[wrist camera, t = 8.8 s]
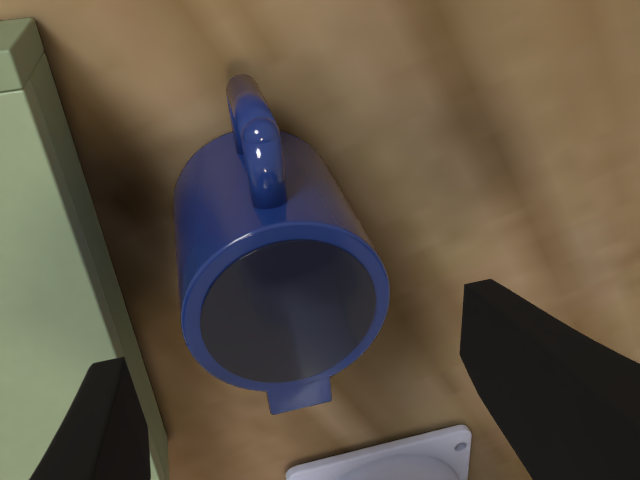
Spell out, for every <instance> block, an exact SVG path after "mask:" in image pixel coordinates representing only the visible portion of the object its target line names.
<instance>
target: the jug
mask: <svg viewBox="0 0 640 480" xmlns="http://www.w3.org/2000/svg"><path fill="white" fill-rule="evenodd" d="M226 93H227V99H228V106H229V112H230V118H231V124H232V130H233V132H231V133H228V134H225V135H222V136H220V137H218V138H216V139H214V140H213V141H211V142H210V143H208V144H207V145H205V146H204V147H202V148H201V149H200V150H199V151H198V152H197V153H195V154H194V156H193V157H192V158H191V159H190V160H189V161H188V162H187V164H186V166H185V167H184V169H183V170H182V172H181V174H180V176H179V178H178V180H177V183H176V187H175V190H174V196H173V218H174V232H175V247H176V261H177V276H178V290H179V305H180V320H181V328H182V334H183V337H184V340H185V343H186V346H187V347H188V349H189V351H190V353H191V354H192V356H193V357H194V358H195V360H196V361H197V362H198V363H199V364H200V365H201V366H202V367H203V368H204V369H205V370H206V371H207V372H208V373H210V374H211V375H213V376H214V377H216V378H217V379H219V380H221V381H223V382H225V383H227V384H230V385H233V386H236V387H239V388H243V389H248V390H254V391H266V394H267V400H268V404H269V409H270V413H271V414H272V415H275V414H279V413H283V412H287V411H292V410H296V409H300V408H304V407H309V406H313V405H317V404H321V403H326V402H330V401H331V400H332V394H331V382H330V377H331V376H333V375H335V374H337V373H338V372H340V371H342V370H343V369H345V368H346V367H348V366H349V365H350V364H352V363H353V362H354V361H355V360H356V359H358V358H359V357H360V356H361V355H362V354H363V353H364V352H365V351H366V350H367V348H368V347H369V346H370V345H371V344H372V342H373V341H374V340H375V338H376V337H377V335H378V333H379V332H380V330H381V328H382V326H383V324H384V321H385V318H386V316H387V312H388V307H389V301H390V284H389V278H388V274H387V271H386V268H385V266H384V264H383V262H382V260H381V258H380V256H379V255H378V253H377V251H376V249H375V248H374V246H373V244H372V243H371V241H370V239H369V237H368V236H367V234H366V232H365V231H364V229H363V227H362V225H361V224H360V222H359V220H358V218H357V217H356V215H355V213H354V212H353V210H352V208H351V206H350V205H349V203H348V201H347V200H346V198H345V196H344V194H343V193H342V191H341V189H340V188H339V186H338V184H337V182H336V181H335V179H334V177H333V176H332V174H331V172H330V170H329V169H328V167H327V165H326V164H325V162H324V161H323V159H322V158H321V156H320V155H319V154H318V153H317V152H316V151H315V149H313V148H312V147H311V146H310V145H309V144H307V143H306V142H305V141H303V140H301V139H300V138H298V137H296V136H294V135H291V134H289V133H286V132H283V131H280V130H279V127H278V125H277V123H276V121H275V119H274V117H273V115H272V113H271V111H270V109H269V107H268V105H267V103H266V101H265V98H264V96H263V94H262V92H261V90H260V88H259V86H258V84H257V82H256V81H255V80H254V79H253V78H252V77H250V76H248V75H245V74H240V75H236V76H234V77H233V78H232V79H231V80H230V81H229V82H228V85H227V89H226Z"/></svg>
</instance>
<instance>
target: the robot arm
mask: <svg viewBox="0 0 640 480" xmlns="http://www.w3.org/2000/svg"><path fill="white" fill-rule="evenodd" d="M460 356H461V359H462V361H463V363H464V365H465V367H466V370H467V372H468V374H469V376H470V378H471V380H472V382H473V384H474V386H475V388H476V390H477V393H478V395H479V396H480V398H481V399H482V401H483V403H484V404H485V406H486V407H487V409H488V411H489V412H490V414H491V415H492V417H493V418H494V420H495V422H496V423H497V425H498V426H499V428H500V429H501V431H502V432H503V434H504V436H505V437H506V439H507V440H508V442H509V443H510V445H511V446H512V448H513V449H514V451H515V453H516V454H517V456H518V457H519V459H520V460H521V462H522V463H523V465H524V466H525V468H526V470H527V471H528V473H529V474H530V476H531V477H532V479H533V480H640V364H639V363H637V362H635V361H633V360H631V359H629V358H627V357H625V356H623V355H621V354H619V353H617V352H615V351H613V350H611V349H609V348H607V347H605V346H604V345H602V344H600V343H598V342H596V341H594V340H592V339H591V338H589V337H587V336H585V335H583V334H582V333H580V332H578V331H576V330H575V329H573V328H571V327H569V326H568V325H566V324H564V323H563V322H561V321H559V320H558V319H556V318H554V317H553V316H551V315H549V314H548V313H546V312H544V311H543V310H541V309H539V308H538V307H536V306H535V305H533V304H531V303H530V302H528V301H527V300H525V299H523V298H522V297H520V296H518V295H517V294H515V293H514V292H512V291H510V290H509V289H507V288H506V287H504V286H502V285H501V284H499V283H497V282H495V281H494V280H492V279H488V280H483V281H478V282H474V283H469V284H464V299H463V314H462V328H461V343H460ZM471 438H472V434H471V432H470V430H469V428H468V427H467V426H466V425H456V426H452V427H448V428H444V429H440V430H436V431H432V432H428V433H424V434H420V435H416V436H412V437H408V438H404V439H400V440H396V441H392V442H388V443H384V444H380V445H376V446H372V447H368V448H364V449H360V450H356V451H352V452H348V453H344V454H340V455H336V456H332V457H328V458H324V459H320V460H316V461H312V462H308V463H304V464H300V465H296V466H294V467H292V468H290V469H289V470H288V471H287V473H286V480H468V469H469V459H470V449H471ZM29 480H151V468H150V450H149V435H148V425H147V422H146V419H145V416H144V413H143V411H142V408H141V405H140V402H139V399H138V396H137V393H136V390H135V387H134V384H133V381H132V378H131V375H130V372H129V369H128V366H127V363H126V360H125V357H120V358H115V359H110V360H106V361H101V362H96V363H92V365H91V366H90V367H89V369H88V371H87V373H86V375H85V377H84V379H83V381H82V383H81V385H80V388H79V390H78V392H77V394H76V396H75V398H74V400H73V402H72V404H71V406H70V408H69V410H68V412H67V414H66V416H65V417H64V419H63V421H62V423H61V425H60V427H59V429H58V430H57V432H56V434H55V436H54V438H53V440H52V441H51V443H50V445H49V447H48V449H47V450H46V452H45V454H44V456H43V457H42V459H41V461H40V463H39V464H38V466H37V467H36V469H35V471H34V472H33V474H32V475H31V477H30V479H29Z"/></svg>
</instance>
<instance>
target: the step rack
mask: <svg viewBox="0 0 640 480" xmlns="http://www.w3.org/2000/svg"><path fill="white" fill-rule="evenodd" d="M43 51H44V48H43V44H42V41H41V38H40V35H39V32H38V29H37V26H36V22H35V20H34V18H32V17H30V18H22V19H14V20H6V21H0V480H29V479H30V477H31V475H32V474H33V472H34V471H35V469H36V467H37V466H38V464H39V463H40V461H41V459H42V457H43V456H44V454H45V452H46V450H47V449H48V447H49V445H50V443H51V441H52V440H53V438H54V436H55V434H56V432H57V430H58V429H59V427H60V425H61V423H62V421H63V419H64V417H65V416H66V414H67V412H68V410H69V408H70V406H71V404H72V402H73V400H74V398H75V396H76V394H77V392H78V390H79V388H80V385H81V383H82V381H83V379H84V377H85V375H86V373H87V371H88V369H89V367H90V366H91V365H92V363H96V362H101V361H106V360H110V359H115V358H120V357H125V360H126V363H127V366H128V369H129V372H130V375H131V378H132V381H133V384H134V387H135V390H136V393H137V396H138V399H139V402H140V405H141V408H142V411H143V413H144V416H145V419H146V422H147V425H148V435H149V450H150V468H151V480H169V462H168V438H167V435H166V432H165V429H164V426H163V422H162V419H161V416H160V413H159V409H158V406H157V403H156V400H155V397H154V394H153V391H152V387H151V384H150V381H149V378H148V375H147V372H146V369H145V365H144V362H143V359H142V356H141V353H140V350H139V347H138V343H137V340H136V337H135V334H134V331H133V328H132V325H131V321H130V318H129V315H128V312H127V309H126V306H125V303H124V299H123V296H122V293H121V290H120V287H119V284H118V281H117V277H116V274H115V271H114V268H113V265H112V262H111V259H110V255H109V252H108V249H107V246H106V243H105V240H104V237H103V233H102V230H101V227H100V224H99V221H98V218H97V215H96V211H95V208H94V205H93V202H92V199H91V196H90V193H89V189H88V186H87V183H86V180H85V177H84V174H83V171H82V167H81V164H80V161H79V158H78V155H77V152H76V149H75V145H74V142H73V139H72V136H71V133H70V130H69V127H68V123H67V120H66V117H65V114H64V111H63V108H62V105H61V101H60V98H59V95H58V92H57V89H56V86H55V83H54V79H53V76H52V73H51V70H50V67H49V64H48V61H47V57H46V55H45V53H43Z"/></svg>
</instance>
